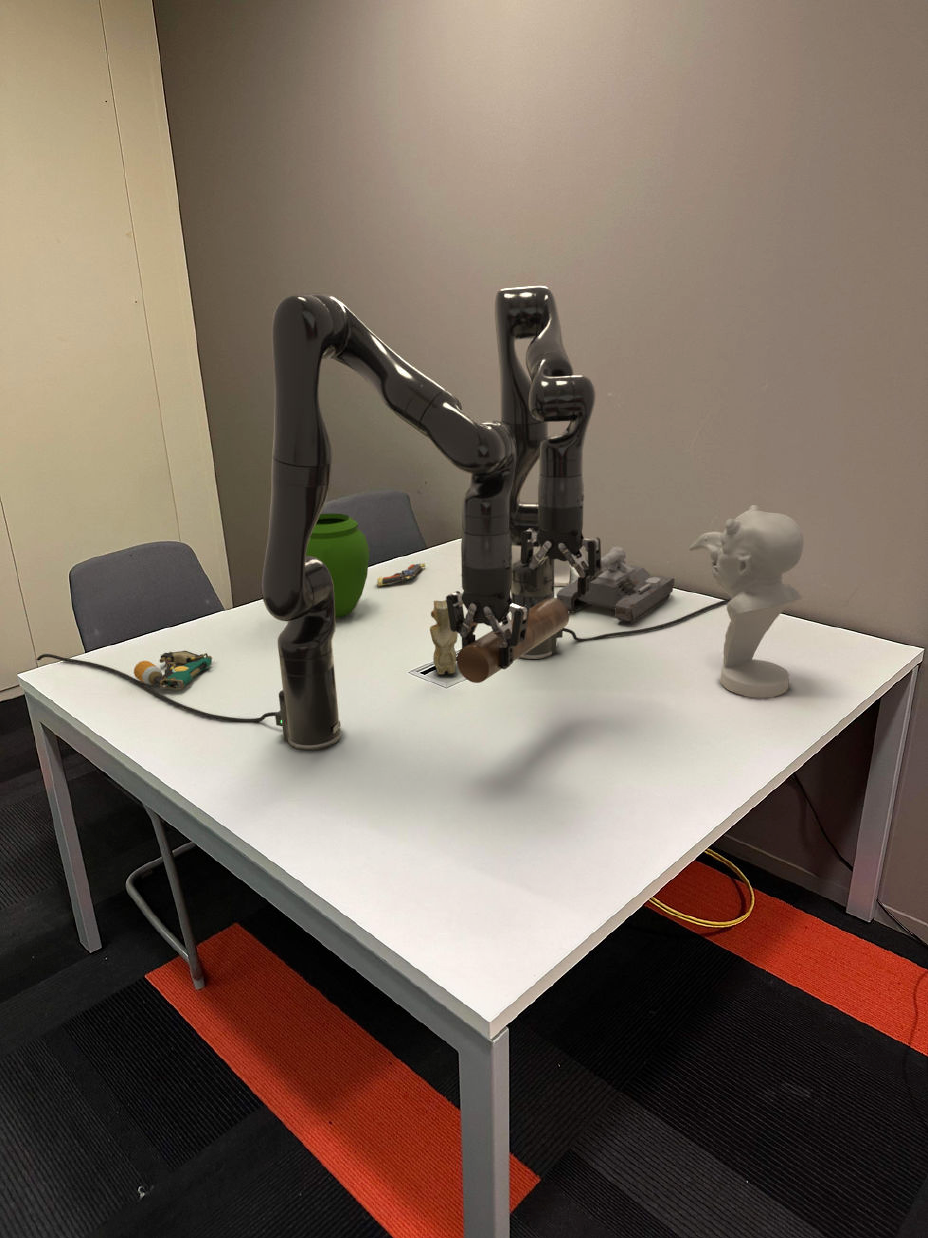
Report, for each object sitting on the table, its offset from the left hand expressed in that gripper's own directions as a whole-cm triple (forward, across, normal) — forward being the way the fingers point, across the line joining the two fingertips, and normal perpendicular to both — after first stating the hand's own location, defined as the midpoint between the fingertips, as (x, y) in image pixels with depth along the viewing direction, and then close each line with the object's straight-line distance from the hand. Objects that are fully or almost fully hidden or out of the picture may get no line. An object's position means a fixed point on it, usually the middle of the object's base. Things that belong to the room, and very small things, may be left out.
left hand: (487, 662), depth 133 cm
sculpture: (+20, -30, +30) cm, 47 cm away
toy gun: (+21, -78, +76) cm, 111 cm away
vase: (+21, -74, +44) cm, 89 cm away
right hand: (-5, +1, +22) cm, 23 cm away
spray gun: (+21, -78, -2) cm, 80 cm away
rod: (+2, 0, +9) cm, 9 cm away
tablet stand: (+20, -49, +95) cm, 109 cm away
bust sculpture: (+20, +22, +56) cm, 64 cm away
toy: (+20, -17, +85) cm, 89 cm away
